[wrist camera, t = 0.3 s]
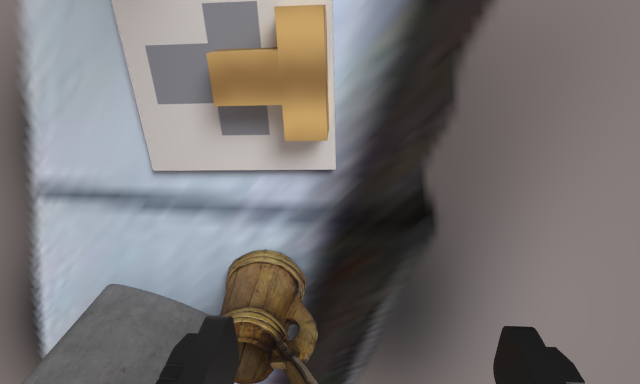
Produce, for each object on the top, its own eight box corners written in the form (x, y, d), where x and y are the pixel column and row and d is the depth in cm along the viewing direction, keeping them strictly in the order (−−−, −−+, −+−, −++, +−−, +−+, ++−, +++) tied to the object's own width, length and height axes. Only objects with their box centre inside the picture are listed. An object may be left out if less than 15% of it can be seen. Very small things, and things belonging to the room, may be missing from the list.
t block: (214, 9, 30) (199, 9, 27) (326, 5, 30) (323, 4, 27) (231, 129, 35) (220, 142, 32) (329, 128, 34) (327, 140, 31)
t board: (107, -42, 30) (100, -43, 29) (331, -54, 29) (331, -56, 28) (157, 166, 38) (153, 170, 37) (336, 165, 37) (335, 169, 36)
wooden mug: (350, 303, 44) (350, 474, 28) (240, 314, 46) (181, 478, 30) (337, 240, 40) (329, 394, 24) (218, 254, 42) (138, 405, 26)
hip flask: (103, 298, 47) (-52, 480, 29) (108, 274, 45) (-53, 452, 27) (225, 342, 48) (151, 538, 30) (234, 320, 47) (162, 516, 29)
